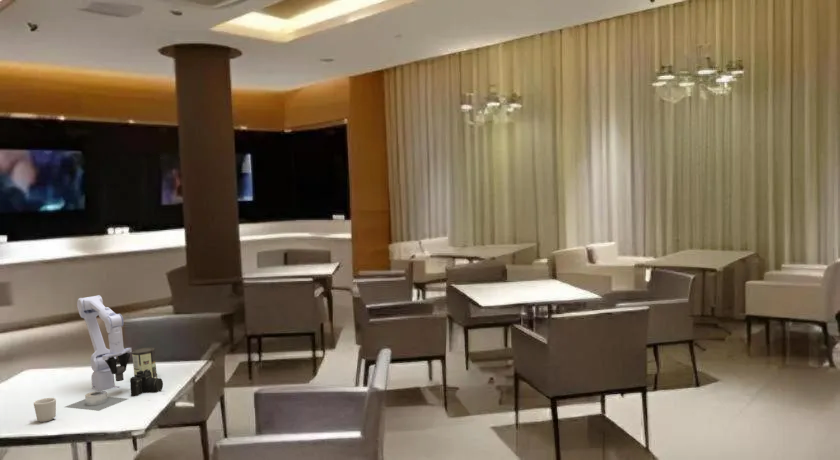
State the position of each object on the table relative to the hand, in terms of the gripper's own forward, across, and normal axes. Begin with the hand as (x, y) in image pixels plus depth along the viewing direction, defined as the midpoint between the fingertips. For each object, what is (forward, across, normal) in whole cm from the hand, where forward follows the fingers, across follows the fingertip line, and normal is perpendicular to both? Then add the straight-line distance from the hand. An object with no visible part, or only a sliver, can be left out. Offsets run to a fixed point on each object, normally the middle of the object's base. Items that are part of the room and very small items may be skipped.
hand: (118, 372), depth 316 cm
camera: (+11, +5, -11) cm, 16 cm away
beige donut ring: (+10, -14, -1) cm, 17 cm away
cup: (+11, -33, +5) cm, 35 cm away
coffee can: (+10, +24, +9) cm, 28 cm away
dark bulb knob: (+4, 0, 0) cm, 4 cm away
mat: (+10, -14, -1) cm, 17 cm away
